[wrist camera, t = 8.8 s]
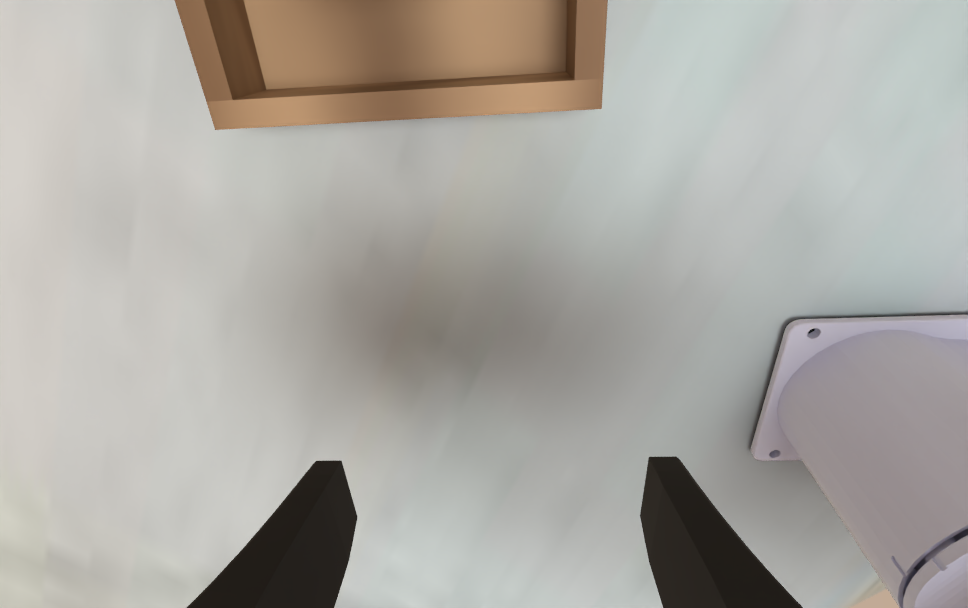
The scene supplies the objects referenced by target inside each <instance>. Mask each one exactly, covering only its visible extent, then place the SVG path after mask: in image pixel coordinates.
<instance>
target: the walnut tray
mask: <svg viewBox="0 0 968 608" xmlns="http://www.w3.org/2000/svg"><path fill="white" fill-rule="evenodd" d="M607 2H608V0H175V3H176V6H177V9H178V12H179V15H180V19H181V22H182V25H183V28H184V31H185V34H186V38H187V41H188V44H189V47H190V50H191V54H192V57H193V60H194V63H195V66H196V70H197V73H198V76H199V79H200V82H201V86H202V89H203V92H204V95H205V98H206V102H207V105H208V108H209V111H210V114H211V117H212V121H213V124H214V127H215V130H220V129H238V128H256V127H275V126H293V125H312V124H330V123H348V122H367V121H385V120H404V119H422V118H441V117H459V116H477V115H496V114H514V113H533V112H551V111H569V110H588V109H601V108H602V90H603V73H604V55H605V37H606V19H607Z"/></svg>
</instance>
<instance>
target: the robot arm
mask: <svg viewBox="0 0 968 608" xmlns="http://www.w3.org/2000/svg"><path fill="white" fill-rule="evenodd" d="M814 328H815V330H814V331H813V332H811V333H808V332H809V331H810V330H811V329H814ZM807 333H808V334H807ZM773 450H774V451H773ZM751 453H752V455H753V457H754V458H755V459H757V460H761V461H773V460H802V461H803V463H804V464H805V466H806V467H807V469H808V470H809V472H810V473H811V475H812V476H813V478H814V479H815V481H816V482H817V484H818V485H819V487H820V488H821V490H822V491H823V493H824V494H825V496H826V497H827V499H828V500H829V502H830V504H831V505H832V507H833V508H834V510H835V511H836V513H837V514H838V516H839V517H840V519H841V520H842V522H843V523H844V525H845V526H846V528H847V529H848V531H849V532H850V534H851V535H852V537H853V538H854V540H855V541H856V543H857V544H858V546H859V547H860V549H861V550H862V552H863V553H864V555H865V556H866V558H867V559H868V561H869V562H870V564H871V565H872V567H873V568H874V570H875V571H876V573H877V574H878V576H879V577H880V579H881V580H882V582H883V583H884V585H885V586H886V588H887V589H888V591H889V592H890V594H891V595H892V597H893V598H894V600H895V601H896V603H897V604H898V606H899V607H900V608H968V315H935V316H899V317H863V318H828V319H799V320H795V321H793V322H791V323H790V324H789V325H787V327H786V329H785V332H784V335H783V339H782V342H781V345H780V349H779V352H778V356H777V359H776V363H775V366H774V370H773V373H772V377H771V380H770V384H769V387H768V390H767V394H766V397H765V401H764V404H763V408H762V411H761V415H760V418H759V422H758V425H757V429H756V432H755V435H754V439H753V442H752V446H751ZM640 517H641V522H642V527H643V533H644V538H645V543H646V548H647V553H648V558H649V562H650V566H651V569H652V572H653V575H654V579H655V582H656V585H657V588H658V592H659V595H660V598H661V601H662V605H663V608H803V607H802V606H801V605H800V604H799V603H798V602H797V601H796V600H795V599H794V598H793V597H792V596H791V595H790V594H789V593H788V592H787V591H786V589H785V588H784V587H783V586H782V585H781V584H780V583H779V582H778V581H777V580H776V579H775V577H774V576H773V575H772V574H771V573H770V572H769V571H768V570H767V569H766V568H765V566H764V565H763V564H762V563H761V562H760V561H759V560H758V559H757V557H756V556H755V555H754V554H753V553H752V552H751V550H750V549H749V548H748V547H747V546H746V545H745V543H744V542H743V541H742V540H741V538H740V537H739V536H738V535H737V534H736V532H735V531H734V530H733V529H732V528H731V526H730V525H729V524H728V523H727V522H726V520H725V519H724V518H723V517H722V515H721V514H720V513H719V512H718V510H717V509H716V508H715V506H714V505H713V504H712V503H711V501H710V500H709V499H708V497H707V496H706V495H705V493H704V492H703V491H702V489H701V488H700V487H699V485H698V484H697V483H696V481H695V480H694V479H693V477H692V476H691V475H690V473H689V472H688V470H687V469H686V468H685V466H684V465H683V463H682V462H681V461H680V460H679V459H678V458H677V457H649V461H648V467H647V474H646V481H645V487H644V494H643V501H642V507H641V514H640ZM356 521H357V514H356V511H355V507H354V504H353V500H352V497H351V493H350V489H349V486H348V482H347V479H346V475H345V472H344V468H343V465H342V461H316V462H315V463H314V464H313V465H312V466H311V467H310V469H309V470H308V471H307V472H306V474H305V475H304V476H303V477H302V479H301V480H300V481H299V482H298V484H297V485H296V486H295V487H294V489H293V490H292V491H291V492H290V494H289V495H288V496H287V497H286V499H285V500H284V501H283V502H282V503H281V505H280V506H279V507H278V508H277V509H276V511H275V512H274V513H273V514H272V516H271V517H270V518H269V519H268V520H267V521H266V523H265V524H264V525H263V526H262V527H261V528H260V530H259V531H258V532H257V533H256V534H255V535H254V537H253V538H252V539H251V540H250V541H249V542H248V544H247V545H246V546H245V547H244V548H243V549H242V550H241V551H240V552H239V554H238V555H237V556H236V557H235V558H234V559H233V560H232V561H231V562H230V563H229V564H228V565H227V567H226V568H225V569H224V570H223V571H222V572H221V573H220V574H219V575H218V576H217V577H216V578H215V580H214V581H213V582H212V583H211V584H210V585H209V586H208V587H207V588H206V589H205V590H204V591H203V592H202V593H201V594H200V595H199V596H198V597H197V598H196V599H195V600H194V601H193V602H192V603H191V604H190V605H189V606H188V607H187V608H334V606H335V603H336V600H337V597H338V593H339V590H340V587H341V584H342V581H343V578H344V574H345V571H346V568H347V565H348V561H349V557H350V552H351V547H352V542H353V537H354V532H355V526H356Z"/></svg>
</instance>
